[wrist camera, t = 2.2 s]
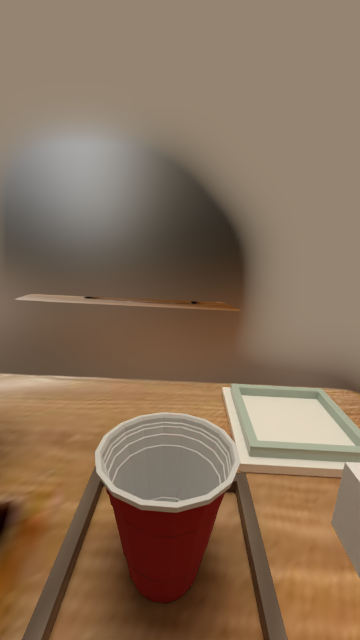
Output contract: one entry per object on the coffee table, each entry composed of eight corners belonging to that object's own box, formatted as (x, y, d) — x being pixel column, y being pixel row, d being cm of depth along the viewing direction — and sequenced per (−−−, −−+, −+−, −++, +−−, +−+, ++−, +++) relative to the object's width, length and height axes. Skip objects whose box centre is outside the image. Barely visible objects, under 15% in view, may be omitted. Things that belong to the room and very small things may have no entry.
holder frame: (0, 715, 16) (-3, 698, 16) (96, 475, 33) (95, 464, 32) (303, 736, 16) (308, 721, 15) (244, 483, 33) (245, 473, 32)
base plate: (239, 471, 34) (241, 453, 34) (221, 393, 53) (222, 380, 52) (395, 480, 34) (401, 462, 33) (322, 398, 52) (325, 385, 52)
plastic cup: (209, 500, 30) (218, 402, 27) (245, 634, 20) (265, 499, 17) (107, 509, 29) (104, 406, 26) (87, 658, 18) (78, 516, 15)
